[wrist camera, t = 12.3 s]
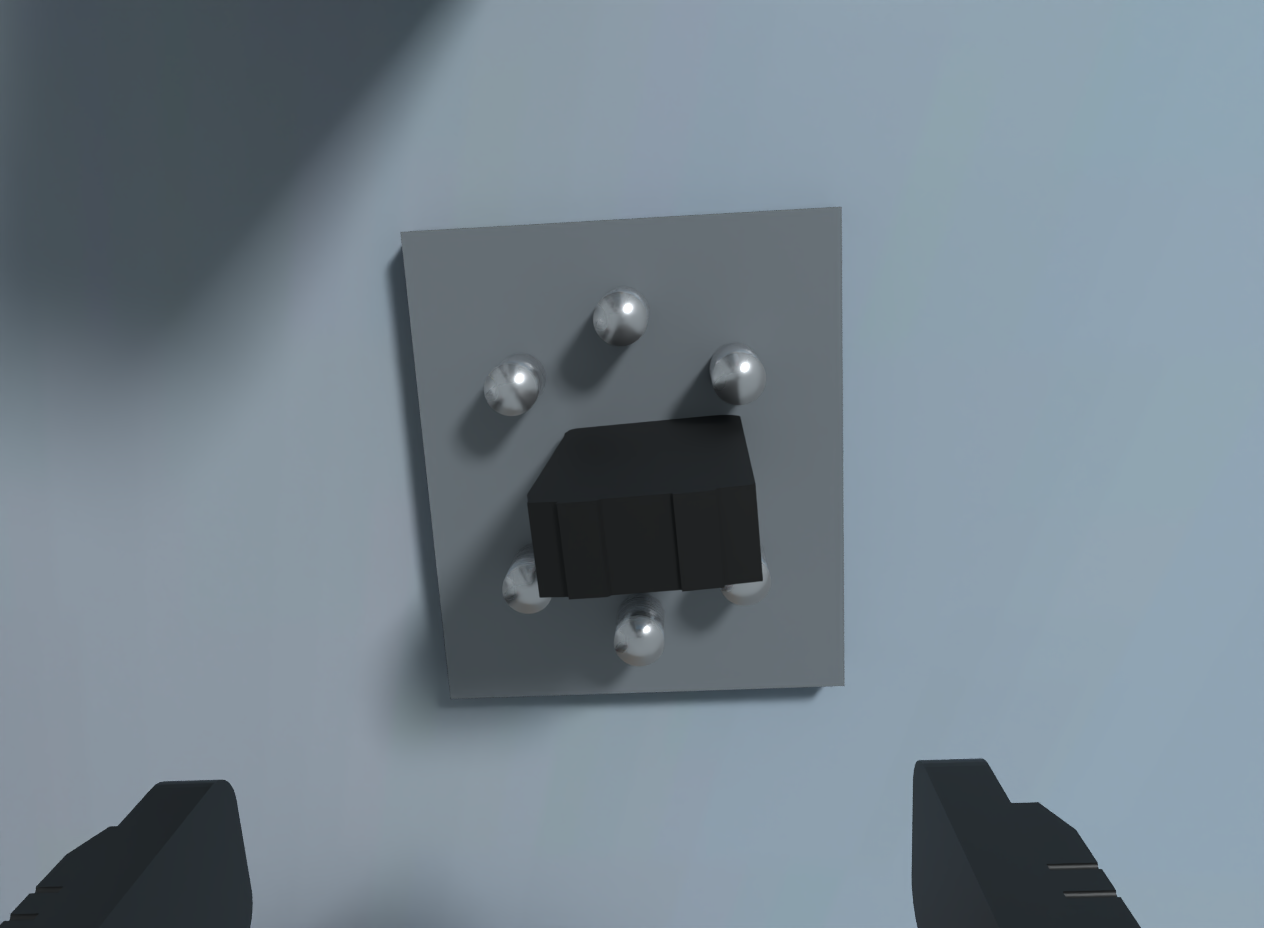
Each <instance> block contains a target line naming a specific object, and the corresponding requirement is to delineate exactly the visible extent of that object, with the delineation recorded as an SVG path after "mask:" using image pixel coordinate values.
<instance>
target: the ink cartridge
mask: <svg viewBox="0 0 1264 928" xmlns="http://www.w3.org/2000/svg"><path fill="white" fill-rule="evenodd" d="M527 500H528V502H527V507H528V515H529V522H530V530H531V537H532V545H533V552H534V560H535V567H536V575H537V582H538V590H539V597H540V598H549V597H569V600H570V599H586V598H602V597H609V596H611V595H623V594H636V593H649V592H662V591H675V590H682V592H684V591H694V590H704V589H714V588H724V587H725V586H724V585H733V584H742V583H751V582H760V581H763V573H762V560H761V547H760V534H759V521H758V508H757V495H756V484H755V479H754V475H753V470H752V466H751V461H750V457H749V453H748V448H747V444H746V439H745V435H744V430H743V426H742V422H741V417H740V416H738V415H713V416H702V417H691V418H681V419H670V420H659V421H648V422H638V423H627V424H616V425H606V426H596V427H585V428H576V429H571V430H569V431H568V432H565V434H564V437H563V439H562V440H561V442H560V444H559V445H558V447H557V448H556V450H555V451H554V453H553V455H552V456H551V458H550V459H549V461H548V463H547V464H546V466H545V467H544V469H543V470H542V472H541V474H540V475H539V477H538V478H537V480H536V481H535V483H534V485H533V486H532V488H531V489H530V491H529V492H528V494H527Z"/></svg>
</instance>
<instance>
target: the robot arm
mask: <svg viewBox="0 0 1264 928" xmlns="http://www.w3.org/2000/svg"><path fill="white" fill-rule="evenodd" d="M912 894H913V904H914V911H915V917H916V922H917V927H918V928H1141V927H1140V926H1139V924H1138V923H1137V921H1136V920H1135V918H1134V917H1133V915H1132V914H1131V912H1130V911H1129V909H1128V908H1127V906H1126V905H1125V903H1124V902H1123V900H1122V899H1121V897H1117V895H1116V890H1115V888H1114V887H1113V885H1112V884H1111V882H1110V881H1109V879H1108V878H1107V876H1106V875H1105V873H1104V872H1103V870H1102V869H1099V868H1098V862H1097V861H1096V859H1095V858H1094V856H1093V855H1092V853H1091V852H1090V850H1089V849H1088V847H1087V846H1086V844H1085V843H1084V841H1083V840H1082V838H1081V837H1080V835H1079V834H1078V832H1077V831H1076V830H1075V829H1074V828H1073V827H1071V826H1070V825H1069V824H1067V823H1066V822H1064V821H1063V820H1062V819H1060V818H1059V817H1058V816H1056V815H1055V814H1053V813H1052V812H1051V811H1049V810H1048V809H1047V808H1045V807H1044V806H1042V805H1041V804H1040V803H1038V802H1035V803H1011V802H1010V800H1009V799H1008V797H1007V795H1006V794H1005V792H1004V790H1003V788H1002V787H1001V785H1000V783H999V782H998V780H997V778H996V776H995V775H994V773H993V771H992V770H991V768H990V766H989V765H988V763H987V762H986V761H985V760H984V759H950V760H919V761H917V762H916V764H915V768H914V775H913V822H912ZM252 905H253V902H252V890H251V884H250V878H249V872H248V866H247V860H246V854H245V848H244V842H243V836H242V830H241V824H240V818H239V812H238V806H237V800H236V796H235V793H234V790H233V788H232V786H231V785H230V783H229V782H227V781H226V780H197V781H164V782H159V783H158V784H156V785H155V786H154V787H153V788H152V789H151V790H150V791H149V792H148V793H147V794H146V795H145V796H144V797H143V799H142V800H141V801H140V802H139V803H138V804H137V805H136V806H135V807H134V809H133V810H132V811H131V812H130V813H129V814H128V815H127V816H126V817H125V819H124V820H123V821H122V822H121V823H120V824H119V825H118V826H112V827H108V828H107V829H105V830H104V831H102V832H101V833H99V834H97V835H96V836H94V837H93V838H91V839H90V840H88V841H87V842H85V843H84V844H82V845H80V846H79V847H77V848H76V849H74V850H73V851H71V852H70V853H68V854H67V855H66V856H65V857H64V858H63V859H62V860H61V861H60V862H59V863H58V864H57V865H56V866H55V867H54V868H53V869H52V870H51V871H50V873H49V874H48V875H47V876H46V877H45V878H44V879H43V880H42V881H41V882H40V883H39V884H38V885H37V886H36V891H35V893H32V894H29V895H28V896H27V897H26V898H25V899H24V900H23V901H22V902H21V903H20V904H19V906H18V907H17V908H16V909H15V910H14V911H13V912H12V913H11V917H10V920H9V921H3V923H2V924H1V925H0V928H250V925H251V919H252Z"/></svg>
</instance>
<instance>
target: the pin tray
mask: <svg viewBox="0 0 1264 928" xmlns="http://www.w3.org/2000/svg"><path fill="white" fill-rule="evenodd" d="M401 241H402V250H403V260H404V269H405V278H406V288H407V297H408V306H409V316H410V325H411V334H412V344H413V353H414V362H415V372H416V381H417V390H418V400H419V409H420V418H421V428H422V437H423V446H424V456H425V465H426V474H427V483H428V493H429V502H430V511H431V521H432V530H433V539H434V549H435V558H436V567H437V577H438V586H439V595H440V605H441V614H442V623H443V633H444V642H445V651H446V661H447V670H448V679H449V689H450V698H451V699H464V698H494V697H524V696H555V695H585V694H615V693H645V692H675V691H705V690H736V689H766V688H796V687H826V686H844V533H843V369H842V207H828V208H811V209H794V210H776V211H759V212H741V213H724V214H706V215H689V216H671V217H654V218H637V219H619V220H602V221H584V222H567V223H549V224H532V225H515V226H497V227H480V228H462V229H445V230H427V231H410V232H401ZM713 415H738V416H740V417H741V422H742V426H743V430H744V435H745V439H746V444H747V448H748V453H749V457H750V461H751V466H752V470H753V475H754V479H755V484H756V495H757V508H758V521H759V534H760V547H761V560H762V573H763V581H760V582H751V583H742V584H733V585H724V586H725V587H724V588H714V589H704V590H694V591H684V592H682V590H675V591H662V592H649V593H636V594H623V595H611V596H609V597H602V598H586V599H570V600H569V597H549V598H540V597H539V590H538V582H537V575H536V567H535V560H534V552H533V545H532V537H531V530H530V522H529V515H528V507H527V502H528V500H527V494H528V492H529V491H530V489H531V488H532V486H533V485H534V483H535V481H536V480H537V478H538V477H539V475H540V474H541V472H542V470H543V469H544V467H545V466H546V464H547V463H548V461H549V459H550V458H551V456H552V455H553V453H554V451H555V450H556V448H557V447H558V445H559V444H560V442H561V440H562V439H563V437H564V434H565V432H568V431H569V430H571V429H576V428H585V427H596V426H606V425H616V424H627V423H638V422H648V421H659V420H670V419H681V418H691V417H702V416H713Z"/></svg>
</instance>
